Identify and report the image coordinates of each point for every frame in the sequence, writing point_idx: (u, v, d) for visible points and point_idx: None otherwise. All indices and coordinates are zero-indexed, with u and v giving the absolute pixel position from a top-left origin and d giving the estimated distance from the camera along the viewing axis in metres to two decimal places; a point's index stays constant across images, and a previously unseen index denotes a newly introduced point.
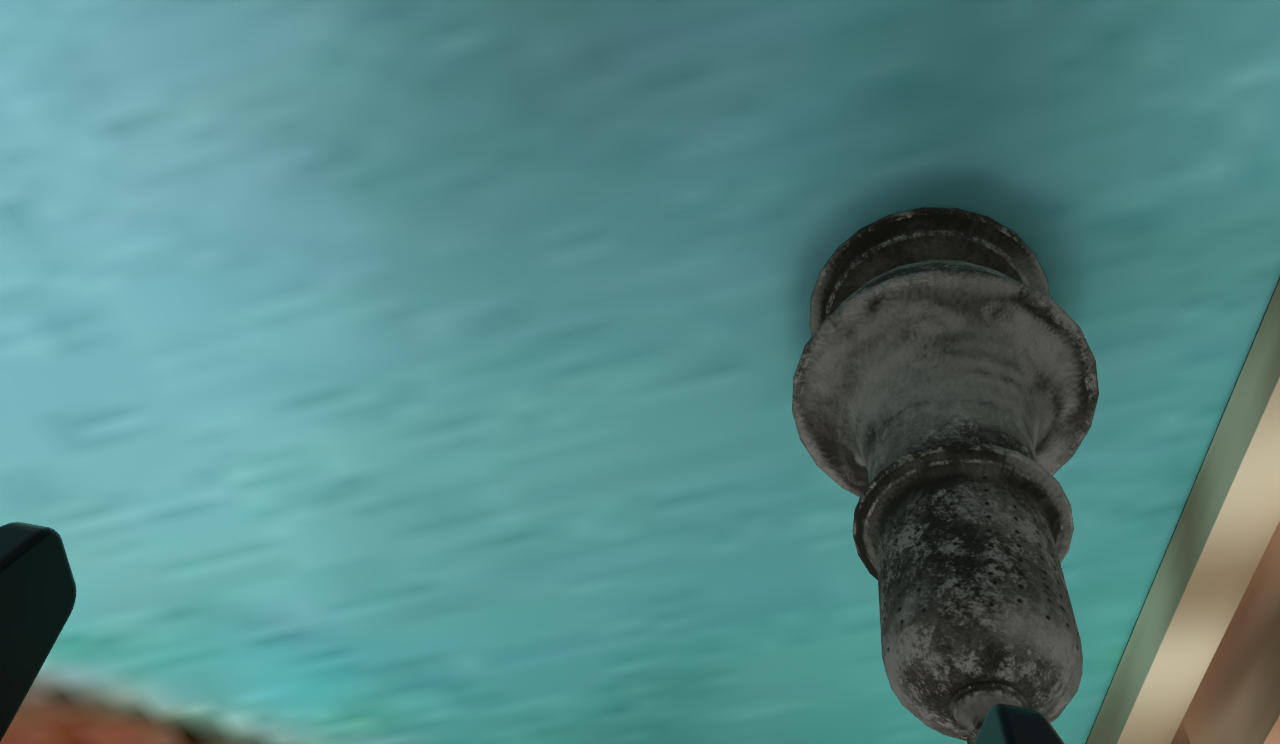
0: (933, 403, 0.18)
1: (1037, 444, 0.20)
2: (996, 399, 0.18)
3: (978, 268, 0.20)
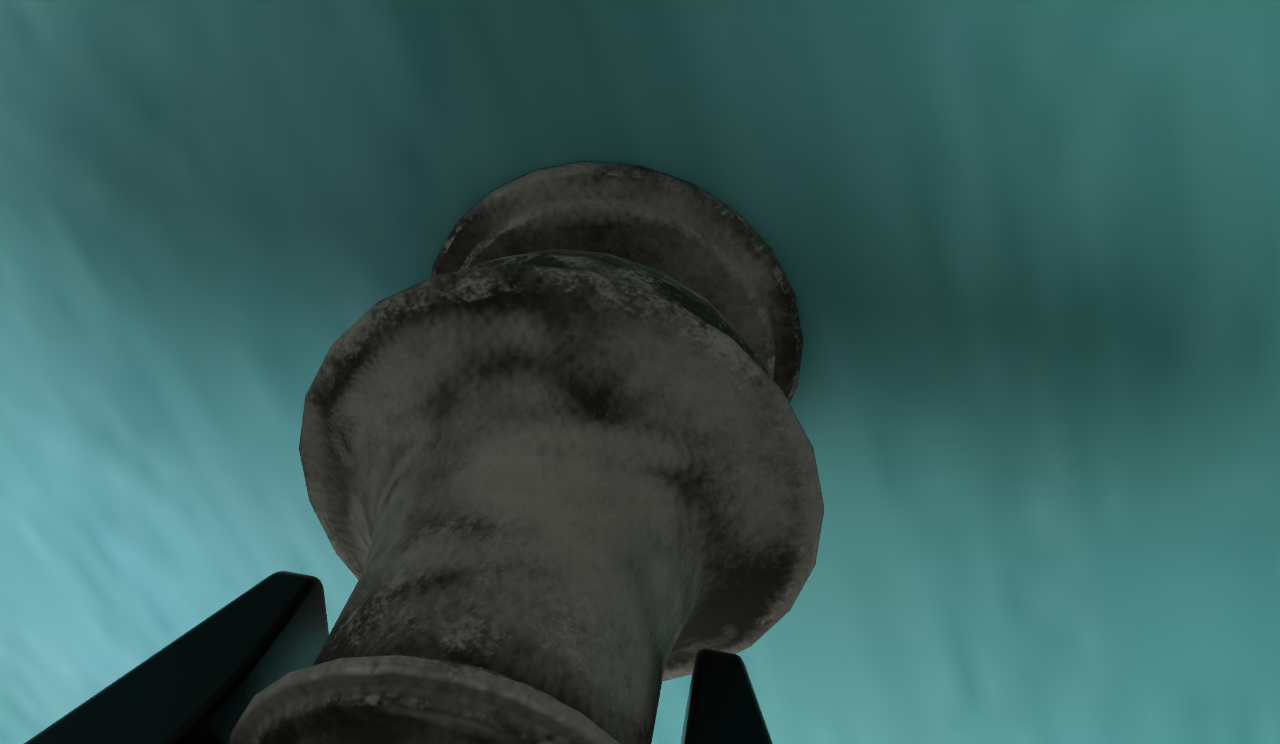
0: None
1: (577, 411, 0.10)
2: (368, 560, 0.10)
3: None
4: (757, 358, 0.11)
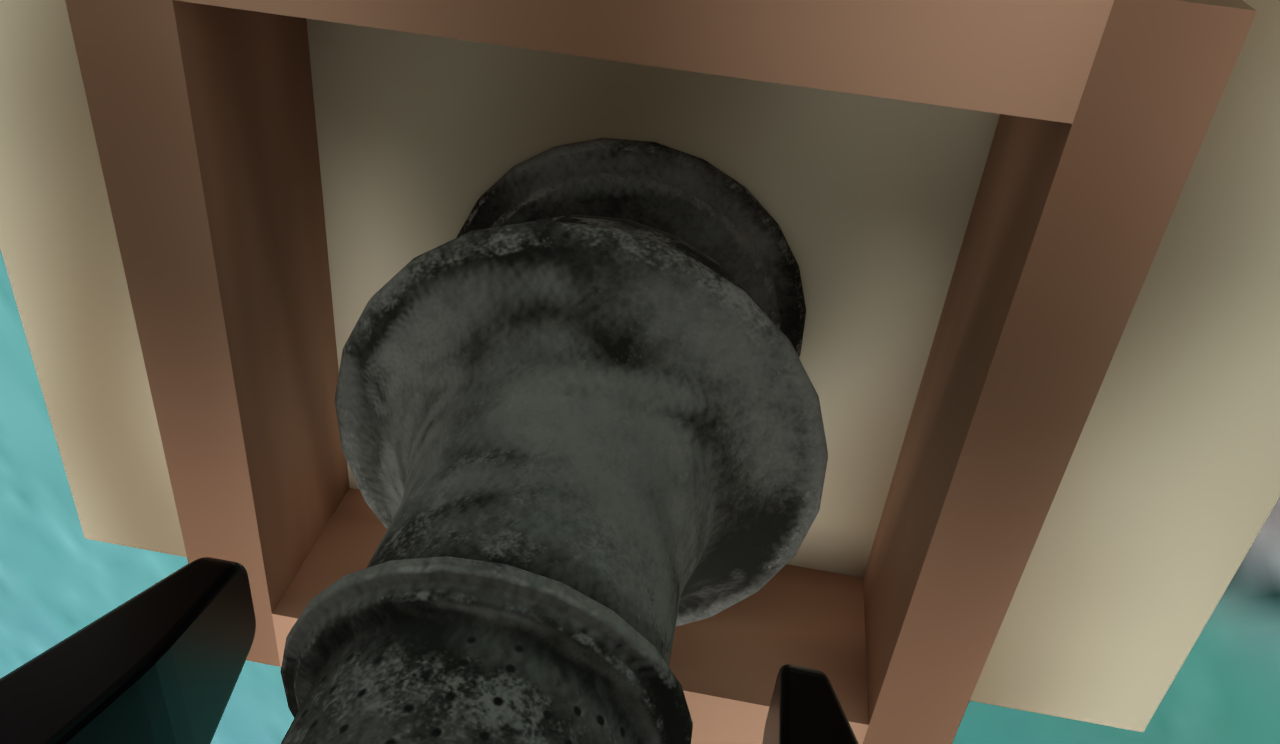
0: None
1: (600, 357, 0.10)
2: (407, 493, 0.10)
3: None
4: None
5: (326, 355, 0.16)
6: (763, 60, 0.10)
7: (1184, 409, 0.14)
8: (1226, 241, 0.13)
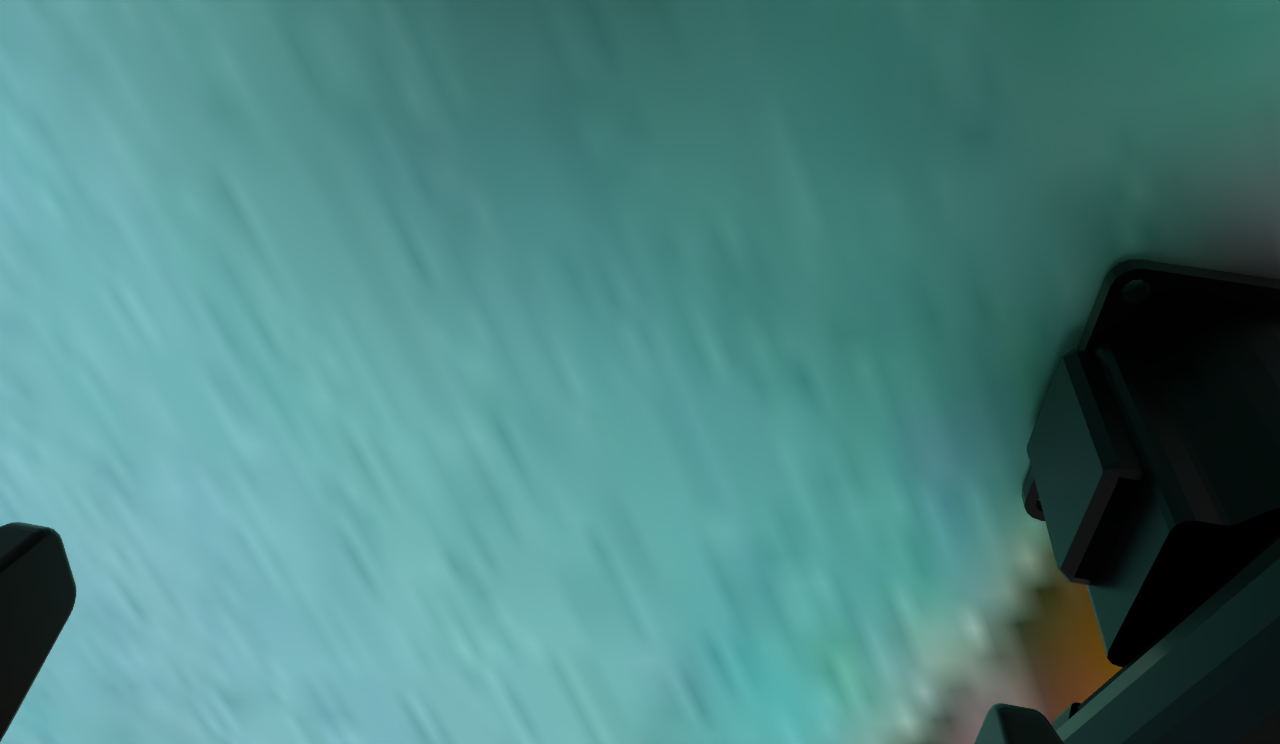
0: None
1: None
2: None
3: None
4: None
5: None
6: None
7: None
8: None
